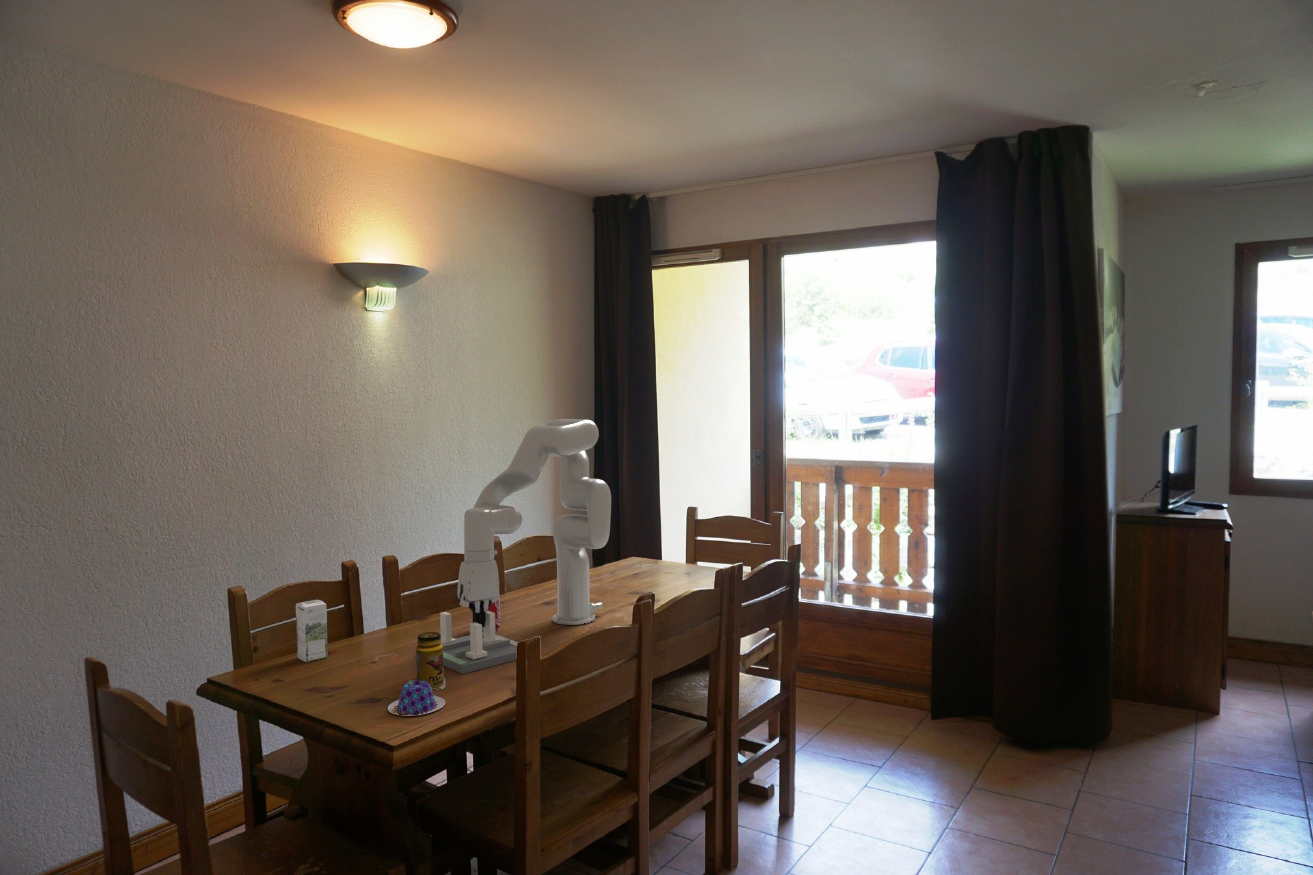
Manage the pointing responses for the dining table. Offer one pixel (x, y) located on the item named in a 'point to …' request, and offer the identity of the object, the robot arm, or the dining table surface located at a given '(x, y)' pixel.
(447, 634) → the post
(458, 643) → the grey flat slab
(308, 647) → the syrup box
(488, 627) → the post
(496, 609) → the soda can
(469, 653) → the post
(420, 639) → the condiment
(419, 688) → the pudding
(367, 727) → the dining table surface
